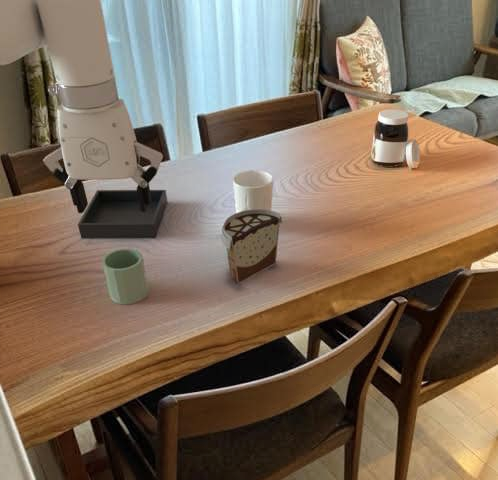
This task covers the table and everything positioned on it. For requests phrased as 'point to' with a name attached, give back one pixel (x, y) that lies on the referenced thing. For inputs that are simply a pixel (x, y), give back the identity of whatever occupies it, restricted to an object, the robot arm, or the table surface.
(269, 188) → the white cup
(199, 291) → the table surface
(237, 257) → the food container
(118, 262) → the green cup
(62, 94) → the robot arm
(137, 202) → the serving tray
